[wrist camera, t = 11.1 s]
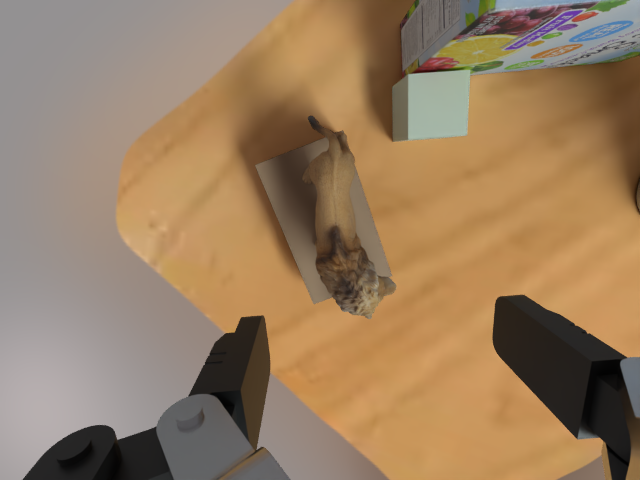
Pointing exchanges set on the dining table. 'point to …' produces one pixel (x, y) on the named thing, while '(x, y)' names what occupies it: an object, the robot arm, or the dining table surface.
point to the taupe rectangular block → (313, 213)
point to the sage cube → (431, 105)
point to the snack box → (517, 34)
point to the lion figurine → (342, 231)
